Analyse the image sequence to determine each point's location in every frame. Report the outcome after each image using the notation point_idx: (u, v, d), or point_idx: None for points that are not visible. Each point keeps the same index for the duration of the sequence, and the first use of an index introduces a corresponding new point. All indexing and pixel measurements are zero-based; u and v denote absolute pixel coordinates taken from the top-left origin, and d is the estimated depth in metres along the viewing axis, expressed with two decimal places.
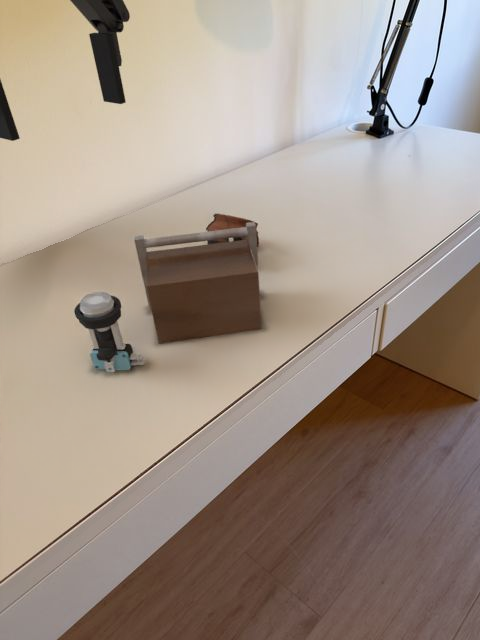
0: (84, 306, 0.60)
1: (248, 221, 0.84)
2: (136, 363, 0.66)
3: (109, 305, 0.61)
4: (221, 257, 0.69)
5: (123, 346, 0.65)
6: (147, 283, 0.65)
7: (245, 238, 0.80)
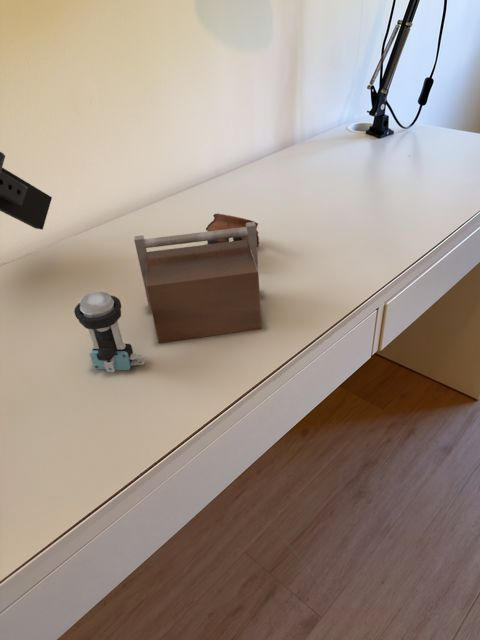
0: (84, 306, 0.60)
1: (248, 221, 0.84)
2: (136, 363, 0.66)
3: (109, 305, 0.61)
4: (221, 257, 0.69)
5: (123, 346, 0.65)
6: (147, 283, 0.65)
7: (245, 238, 0.80)
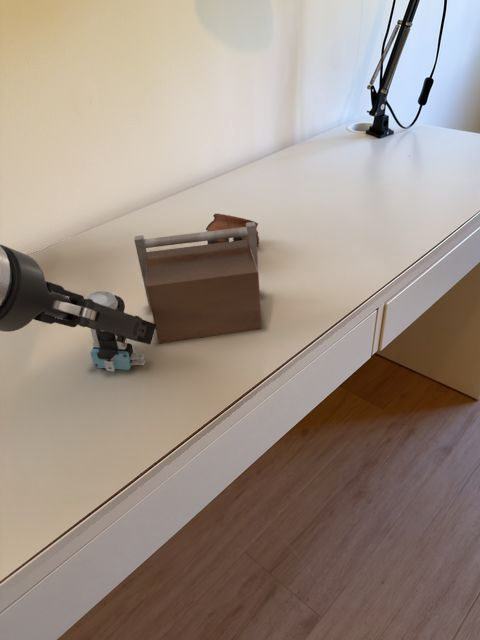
0: None
1: (248, 221, 0.84)
2: (136, 363, 0.66)
3: (113, 305, 0.60)
4: (221, 257, 0.69)
5: (124, 346, 0.65)
6: (147, 283, 0.65)
7: (245, 238, 0.80)
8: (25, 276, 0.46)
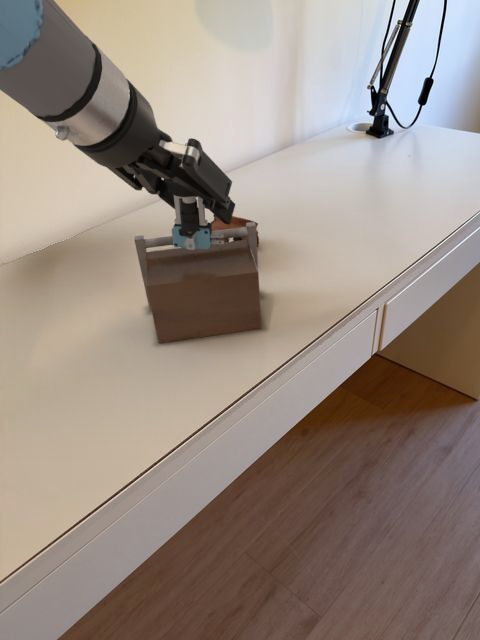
0: None
1: (248, 221, 0.84)
2: (215, 243, 0.67)
3: None
4: (221, 257, 0.69)
5: (206, 222, 0.65)
6: (147, 283, 0.65)
7: (245, 238, 0.80)
8: (140, 102, 0.46)
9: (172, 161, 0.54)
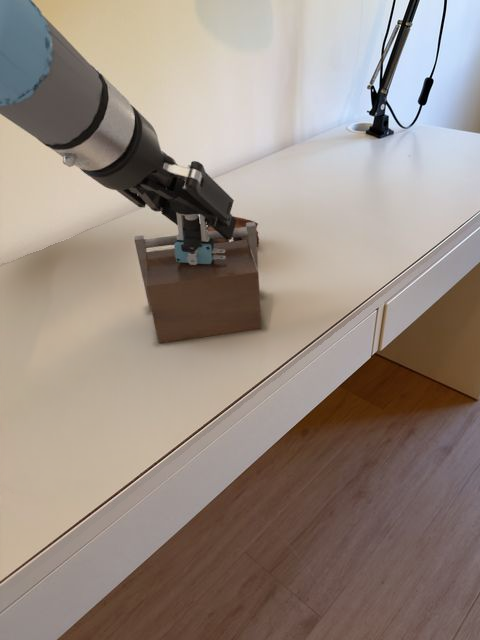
0: None
1: (248, 221, 0.84)
2: (217, 258, 0.68)
3: None
4: (221, 257, 0.69)
5: (208, 238, 0.66)
6: (147, 283, 0.65)
7: (245, 238, 0.80)
8: (144, 128, 0.48)
9: (175, 182, 0.55)
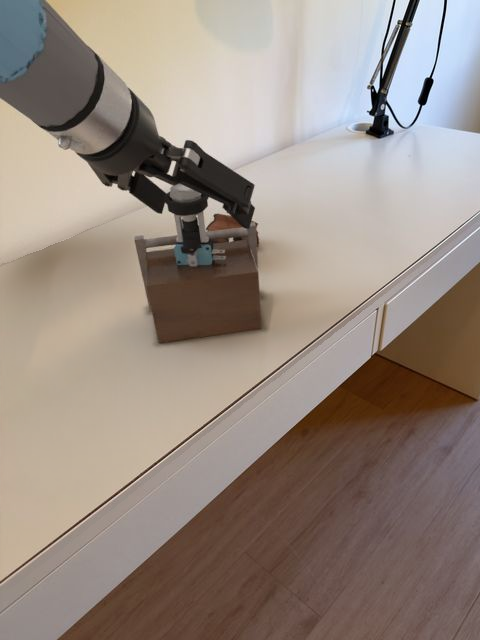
0: (175, 192, 0.62)
1: None
2: (217, 258, 0.68)
3: (198, 192, 0.62)
4: (221, 257, 0.69)
5: (207, 239, 0.66)
6: (147, 283, 0.65)
7: (245, 238, 0.80)
8: (142, 111, 0.47)
9: (178, 166, 0.53)
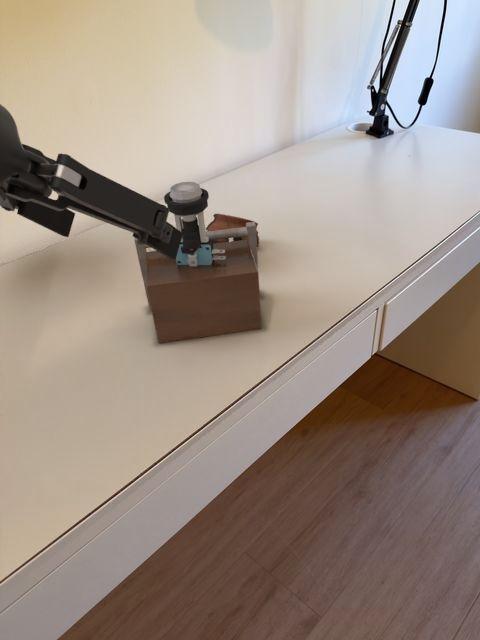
0: (175, 192, 0.62)
1: (248, 221, 0.84)
2: (217, 258, 0.68)
3: (198, 192, 0.62)
4: (221, 257, 0.69)
5: (207, 239, 0.66)
6: (147, 283, 0.65)
7: (245, 238, 0.80)
8: None
9: None
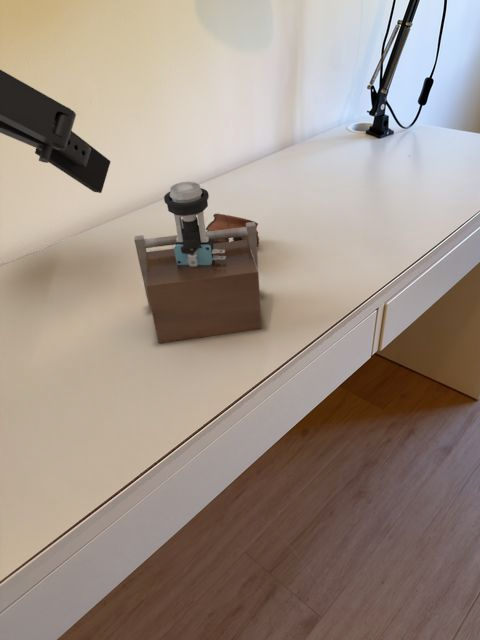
0: (175, 192, 0.62)
1: (248, 221, 0.84)
2: (217, 258, 0.68)
3: (198, 192, 0.62)
4: (221, 257, 0.69)
5: (207, 239, 0.66)
6: (147, 283, 0.65)
7: (245, 238, 0.80)
8: None
9: None
